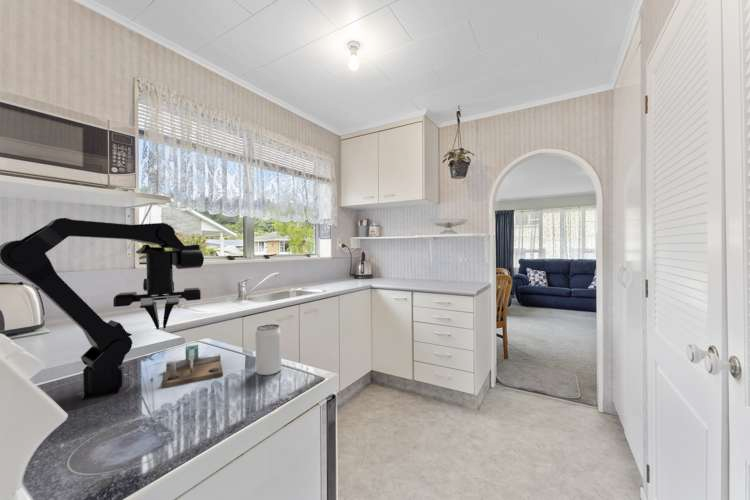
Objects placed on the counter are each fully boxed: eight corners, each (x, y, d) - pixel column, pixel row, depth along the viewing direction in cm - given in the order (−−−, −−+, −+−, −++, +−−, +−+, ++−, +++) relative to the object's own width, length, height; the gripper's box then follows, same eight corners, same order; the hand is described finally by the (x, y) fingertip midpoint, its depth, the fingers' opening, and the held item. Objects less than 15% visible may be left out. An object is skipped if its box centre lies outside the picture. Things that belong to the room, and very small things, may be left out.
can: (256, 368, 86) (256, 325, 86) (281, 365, 88) (280, 323, 88) (255, 377, 80) (254, 331, 80) (281, 374, 82) (280, 328, 82)
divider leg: (184, 374, 79) (184, 357, 79) (186, 361, 88) (185, 346, 88) (198, 371, 81) (198, 355, 81) (198, 359, 89) (198, 344, 89)
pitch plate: (162, 387, 75) (162, 369, 75) (167, 370, 86) (166, 354, 85) (222, 376, 81) (222, 358, 81) (220, 361, 92) (219, 346, 92)
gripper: (199, 267, 95) (201, 318, 95) (121, 270, 86) (123, 327, 86) (200, 269, 85) (201, 326, 85) (112, 273, 76) (113, 337, 76)
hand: (161, 328), depth 84 cm, fingers closed
